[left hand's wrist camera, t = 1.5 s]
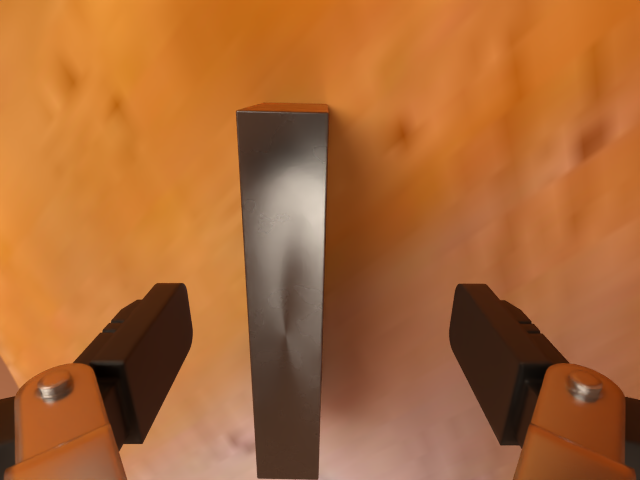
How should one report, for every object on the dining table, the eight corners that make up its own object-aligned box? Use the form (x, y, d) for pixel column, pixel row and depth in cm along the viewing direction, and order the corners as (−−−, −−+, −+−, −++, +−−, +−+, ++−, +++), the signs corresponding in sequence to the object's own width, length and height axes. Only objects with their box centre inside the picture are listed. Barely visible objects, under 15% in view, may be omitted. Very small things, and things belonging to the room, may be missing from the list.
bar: (262, 102, 28) (235, 110, 19) (327, 104, 28) (329, 112, 19) (272, 388, 38) (257, 479, 29) (319, 389, 38) (318, 480, 29)
